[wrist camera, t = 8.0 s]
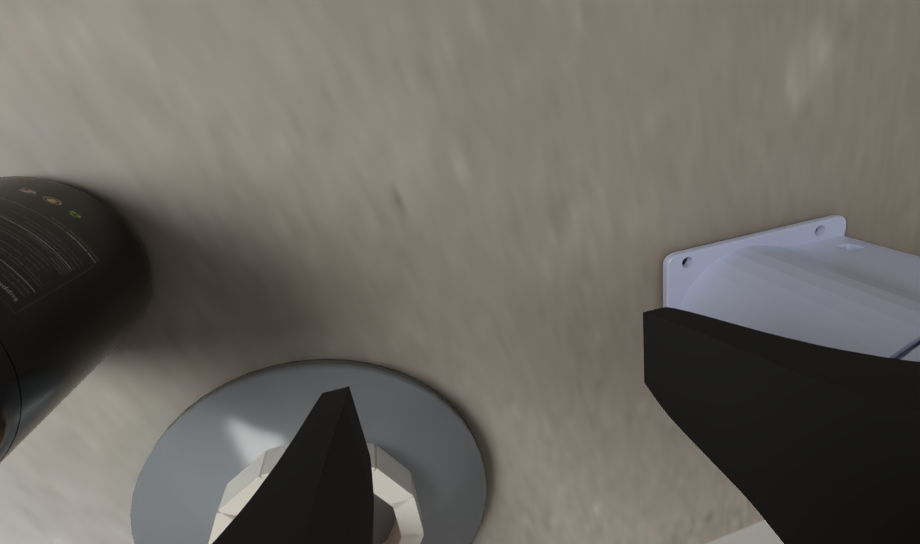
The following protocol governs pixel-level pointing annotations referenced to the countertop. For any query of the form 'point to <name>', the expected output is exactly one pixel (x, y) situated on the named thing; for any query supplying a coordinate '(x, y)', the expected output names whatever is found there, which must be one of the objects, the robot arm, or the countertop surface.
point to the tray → (273, 428)
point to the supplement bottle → (60, 296)
